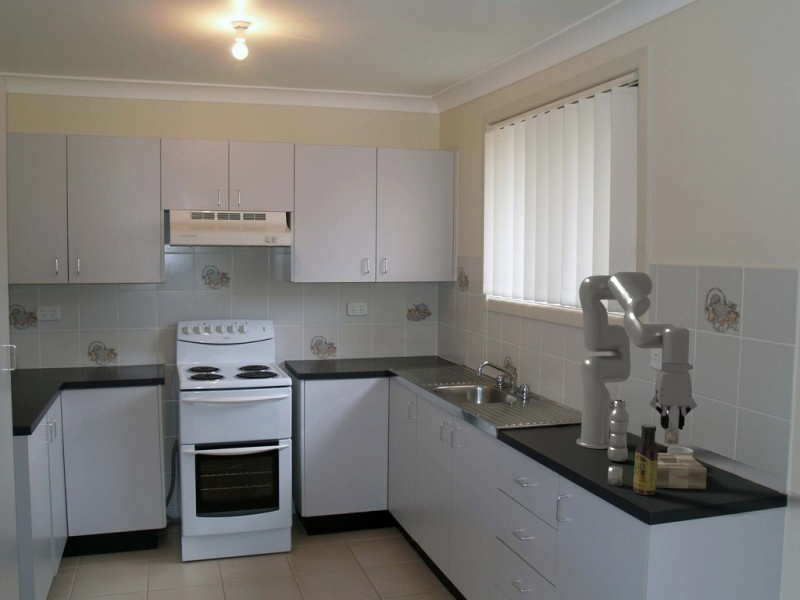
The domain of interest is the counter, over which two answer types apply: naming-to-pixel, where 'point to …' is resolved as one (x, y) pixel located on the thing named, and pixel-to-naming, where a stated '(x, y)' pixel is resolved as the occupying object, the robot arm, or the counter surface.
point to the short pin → (615, 475)
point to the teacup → (680, 450)
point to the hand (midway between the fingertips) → (672, 427)
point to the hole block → (680, 472)
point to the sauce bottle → (646, 462)
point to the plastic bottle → (618, 432)
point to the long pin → (672, 425)
